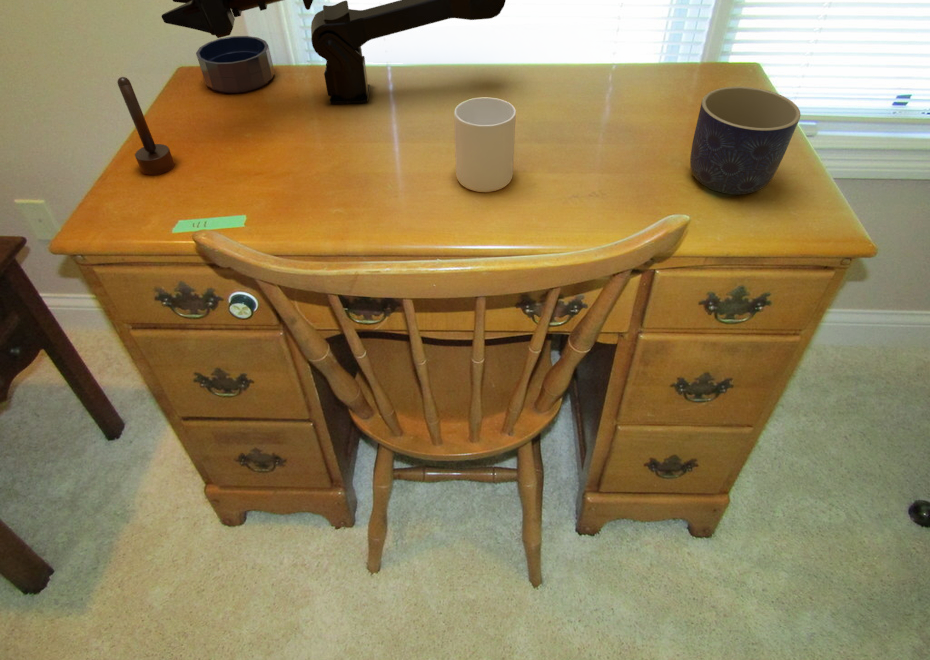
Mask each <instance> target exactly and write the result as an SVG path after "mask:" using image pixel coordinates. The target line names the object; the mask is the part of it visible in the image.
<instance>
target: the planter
mask: <svg viewBox="0 0 930 660" xmlns="http://www.w3.org/2000/svg"><path fill="white" fill-rule="evenodd" d="M801 115H802V114H801V110H800V108H799V107H798V106H797V104H795V102H793V101H792V100H791V99H789V98H788V97H786V96H784V95H782V94H780V93H777V92H774V91H772V90H768V89H764V88H758V87H752V86H740V85H739V86H737V85H735V86H726V87H720V88H716V89H713V90H711V91H709V92H708V93H706V94H705V95H704V96H703V98H702V99H701V103H700V108H699V112H698V116H697V121H696V125H695V130H694V133H693V138H692V144H691V148H690V156H689V157H690V158H689V165H690V170H691V173H692V176H693V177H694V178H695V179H696V180H697V181H698V182H699V183H700V184H701V185H702V186H704V187H706V188H707V189H710V190H713V191H715V192H718V193H722V194H727V195H746V194H747V195H748V194H752V193H754V192H755V193H756V192H757V191H760V190H762V189H763V188H764V187H766V186H767V185H768V184H769V183H770V182H771V180H772V179H773V178H774V176H775V174H776V172H777V170H778V168H779V167H780V165H781V163H782V161H783V160H784V159H783V158H784V156H785V154H786V152H787V150H788V147H789V145H790V143H791V140H792V138H793V136H794V134H795V131H796V129H797V126H798V124H799V121H800V119H801Z"/></svg>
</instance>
